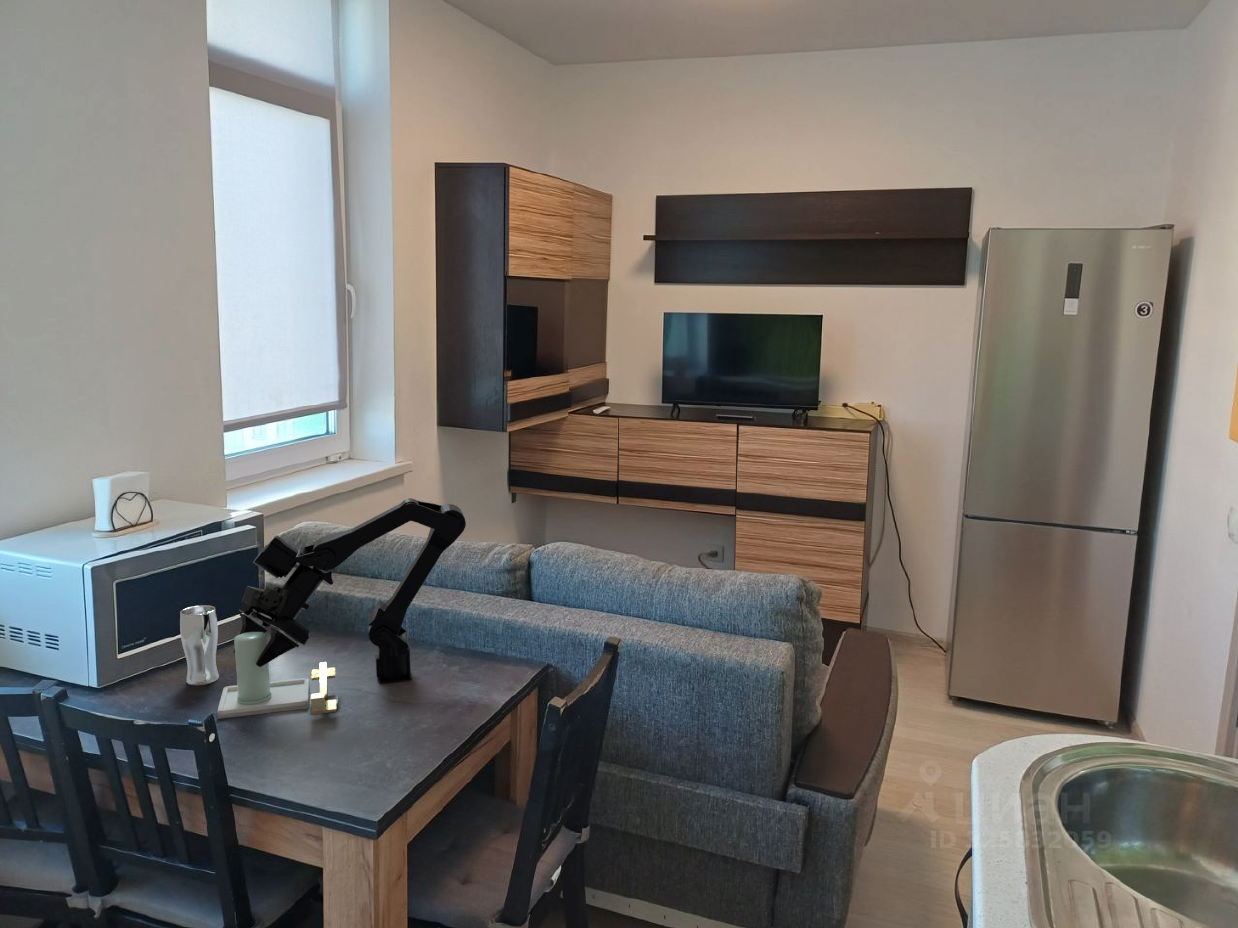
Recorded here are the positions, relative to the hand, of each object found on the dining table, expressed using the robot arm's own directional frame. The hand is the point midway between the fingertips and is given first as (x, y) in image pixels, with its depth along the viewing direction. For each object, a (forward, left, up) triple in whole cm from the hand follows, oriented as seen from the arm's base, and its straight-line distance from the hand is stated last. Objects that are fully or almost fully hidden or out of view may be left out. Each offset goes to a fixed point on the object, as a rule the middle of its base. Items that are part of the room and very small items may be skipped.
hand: (246, 659), depth 176 cm
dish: (-3, -1, -9) cm, 9 cm away
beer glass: (+10, -16, -9) cm, 21 cm away
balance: (-14, +5, -9) cm, 17 cm away
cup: (-1, -1, -8) cm, 8 cm away
